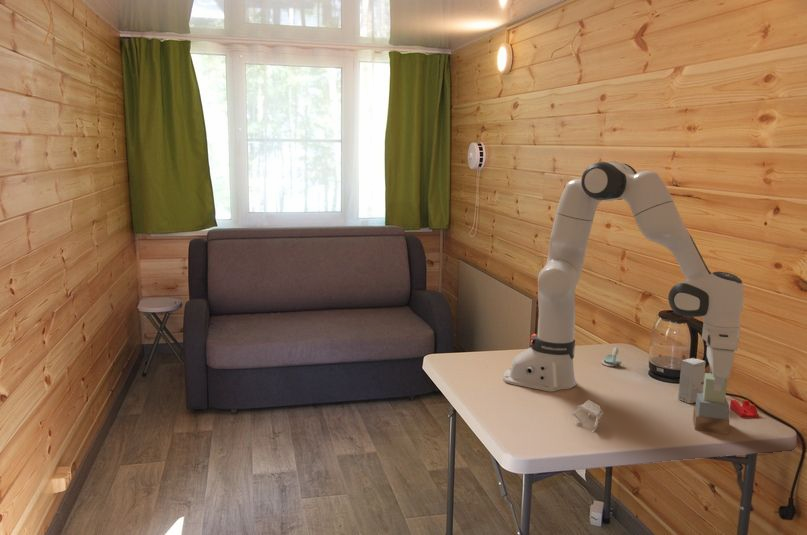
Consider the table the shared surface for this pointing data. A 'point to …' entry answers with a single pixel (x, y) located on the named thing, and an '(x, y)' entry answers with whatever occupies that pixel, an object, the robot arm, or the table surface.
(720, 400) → the sage block
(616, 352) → the pacifier
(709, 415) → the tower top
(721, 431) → the tower base
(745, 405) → the red irregular chunk
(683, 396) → the skincare box
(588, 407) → the origami figure
